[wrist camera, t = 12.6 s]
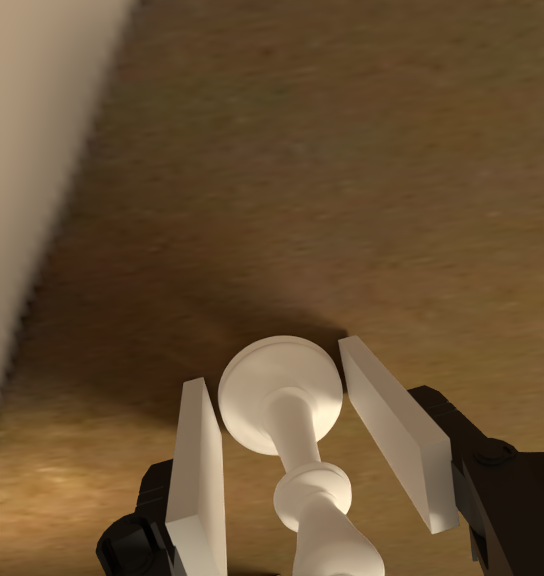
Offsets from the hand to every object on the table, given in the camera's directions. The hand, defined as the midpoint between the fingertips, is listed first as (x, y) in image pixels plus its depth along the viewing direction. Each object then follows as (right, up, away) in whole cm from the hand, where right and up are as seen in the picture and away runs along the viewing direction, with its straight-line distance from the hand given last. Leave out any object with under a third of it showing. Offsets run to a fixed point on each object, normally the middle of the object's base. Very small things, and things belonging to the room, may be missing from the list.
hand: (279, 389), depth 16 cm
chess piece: (0, 0, +1) cm, 1 cm away
